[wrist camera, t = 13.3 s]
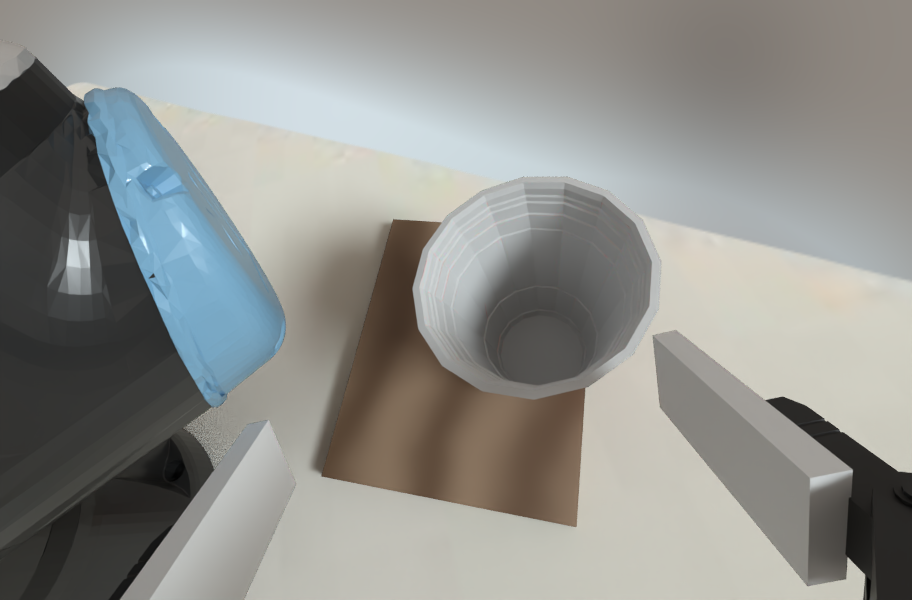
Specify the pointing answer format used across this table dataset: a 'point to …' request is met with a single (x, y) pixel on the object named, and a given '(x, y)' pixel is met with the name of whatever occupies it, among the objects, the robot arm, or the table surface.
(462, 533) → the table surface
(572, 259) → the plastic cup
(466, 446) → the walnut board
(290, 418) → the table surface
